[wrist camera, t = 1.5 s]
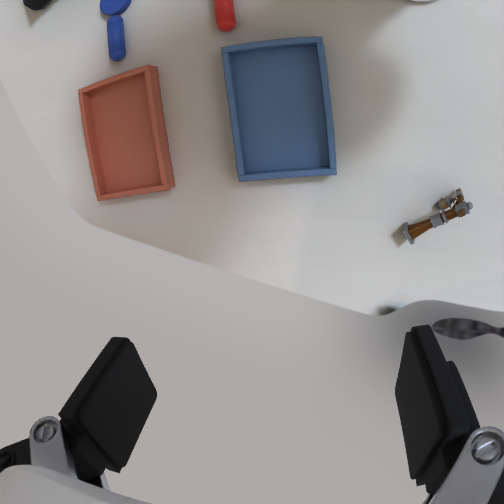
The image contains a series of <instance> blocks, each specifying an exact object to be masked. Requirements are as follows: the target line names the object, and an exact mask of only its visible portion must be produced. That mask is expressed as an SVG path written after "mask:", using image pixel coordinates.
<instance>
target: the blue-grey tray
mask: <svg viewBox="0 0 504 504" xmlns="http://www.w3.org/2000/svg"><path fill="white" fill-rule="evenodd" d="M221 52H222V60H223V67H224V75H225V82H226V90H227V97H228V104H229V112H230V119H231V127H232V134H233V141H234V149H235V156H236V164H237V171H238V175H239V176H238V178H239V182H242V181H253V180H264V179H276V178H290V177H304V176H321V175H337V169H336V153H335V140H334V129H333V118H332V108H331V99H330V90H329V82H328V74H327V66H326V59H325V52H324V45H323V39H322V37H302V38H288V39H277V40H268V41H260V42H252V43H245V44H239V45H233V46H227V47H221Z"/></svg>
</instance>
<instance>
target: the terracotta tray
mask: <svg viewBox="0 0 504 504" xmlns="http://www.w3.org/2000/svg"><path fill="white" fill-rule="evenodd" d="M78 94H79V103H80V110H81V117H82V124H83V130H84V137H85V142H86V148H87V153H88V159H89V164H90V169H91V173H92V178H93V183H94V187H95V192H96V196H97V200H98V201H101V200H107V199H113V198H119V197H125V196H131V195H138V194H144V193H151V192H158V191H165V190H169V189H171V188H172V187H174V186H175V182H174V176H173V170H172V165H171V159H170V153H169V147H168V141H167V135H166V128H165V122H164V115H163V108H162V101H161V94H160V86H159V79H158V71H157V67H155V66H151V65H146V66H143V67H140V68H137V69H134V70H130V71H127V72H124V73H121V74H119V75H116V76H113V77H110V78H107V79H105V80H102V81H99V82H97V83H94V84H92V85H89V86H87V87H84V88H82V89H79V90H78Z"/></svg>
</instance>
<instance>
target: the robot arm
mask: <svg viewBox="0 0 504 504" xmlns="http://www.w3.org/2000/svg"><path fill="white" fill-rule="evenodd" d="M412 1H432V0H412ZM395 396H396V401H397V405H398V411H399V415H400V420H401V425H402V431H403V436H404V441H405V447H406V453H407V459H408V465H409V472H410V477H411V479H416V484H417V486H420V485H424V484H425V485H426V491H427V493H429V494H428V496H427V497H426V499H425V500H424V502H423V503H422V504H504V432H503V431H502V430H500V429H498V428H496V427H490V426H489V427H482V428H480V425H479V422H478V419H477V417H476V414H475V411H474V409H473V406H472V404H471V401H470V398H469V396H468V393H467V391H466V389H465V386H464V383H463V381H462V379H461V377H460V374H459V372H458V369H457V367H456V366H455V364H454V362H452V361H447V362H446V360H445V358H444V355H443V353H442V351H441V348H440V346H439V344H438V341H437V339H436V337H435V335H434V333H433V331H432V329H431V327H430V325H422V326H415V327H412V329H411V332H407V333H406V336H405V341H404V347H403V353H402V358H401V363H400V368H399V373H398V378H397V382H396V387H395ZM156 398H157V391H156V389H155V387H154V385H153V383H152V381H151V379H150V377H149V375H148V373H147V371H146V369H145V367H144V365H143V363H142V361H141V359H140V357H139V354H138V352H137V350H136V348H135V346H134V344H133V343H132V342H130V340H129V339H128V338H124V337H113V338H111V339H110V341H109V342H108V343H107V345H106V346H105V348H104V349H103V350H102V352H101V353H100V354H99V356H98V357H97V359H96V360H95V361H94V363H93V364H92V366H91V367H90V369H89V370H88V371H87V373H86V374H85V376H84V377H83V378H82V380H81V381H80V383H79V384H78V386H77V387H76V389H75V390H74V392H73V393H72V395H71V396H70V398H69V399H68V400H67V402H66V403H65V405H64V407H63V408H62V410H61V411H60V412H59V414H58V415H59V416H60V417H61V420H60V421H59V420H58V419H57V418H55V417H53V416H47V417H43V418H41V419H39V420H38V421H36V422H35V424H34V425H33V426H32V428H31V430H30V438H27V439H25V440H22V441H20V442H17V443H14V444H12V445H9V446H6V447H4V448H2V449H0V504H151V503H147V502H143V501H140V500H136V499H133V498H129V497H126V496H123V495H120V494H117V493H114V492H111V491H110V490H109V487H108V484H107V481H106V477H105V474H104V470H105V468H107V469H108V470H111V471H114V472H117V473H120V471H121V469H122V467H124V466H126V464H127V462H128V460H129V457H130V455H131V453H132V451H133V449H134V446H135V444H136V442H137V440H138V438H139V435H140V433H141V431H142V429H143V426H144V425H145V422H146V420H147V418H148V416H149V414H150V411H151V409H152V407H153V405H154V403H155V401H156Z"/></svg>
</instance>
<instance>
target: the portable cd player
mask: <svg viewBox="0 0 504 504" xmlns="http://www.w3.org/2000/svg"><path fill="white" fill-rule="evenodd" d="M52 1H53V0H23V2H24V5H25V6H27V7H29V8H30V9H32V10H34V11H37V10H41V9H44V8H45V7H46V6H47V5H48V4H50V3H51V2H52Z"/></svg>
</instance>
